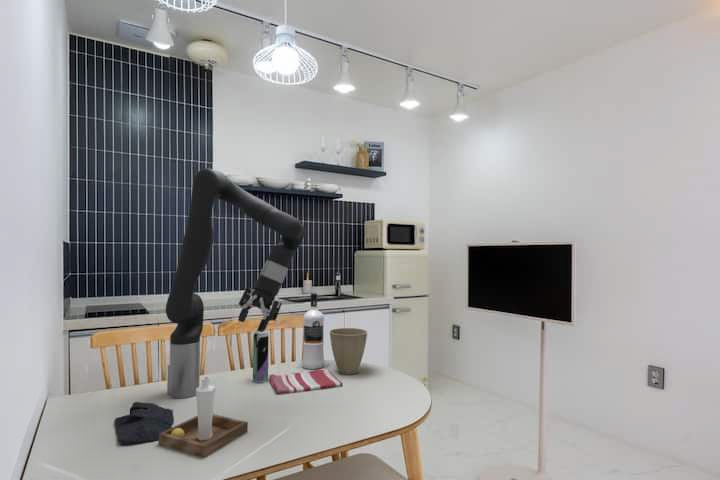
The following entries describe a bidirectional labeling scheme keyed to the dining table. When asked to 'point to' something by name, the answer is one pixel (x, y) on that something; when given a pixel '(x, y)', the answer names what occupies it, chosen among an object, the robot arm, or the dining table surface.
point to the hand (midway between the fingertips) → (250, 326)
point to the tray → (222, 435)
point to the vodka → (313, 337)
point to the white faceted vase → (205, 409)
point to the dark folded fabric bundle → (143, 423)
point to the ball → (178, 432)
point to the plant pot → (348, 348)
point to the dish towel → (304, 381)
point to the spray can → (260, 356)
